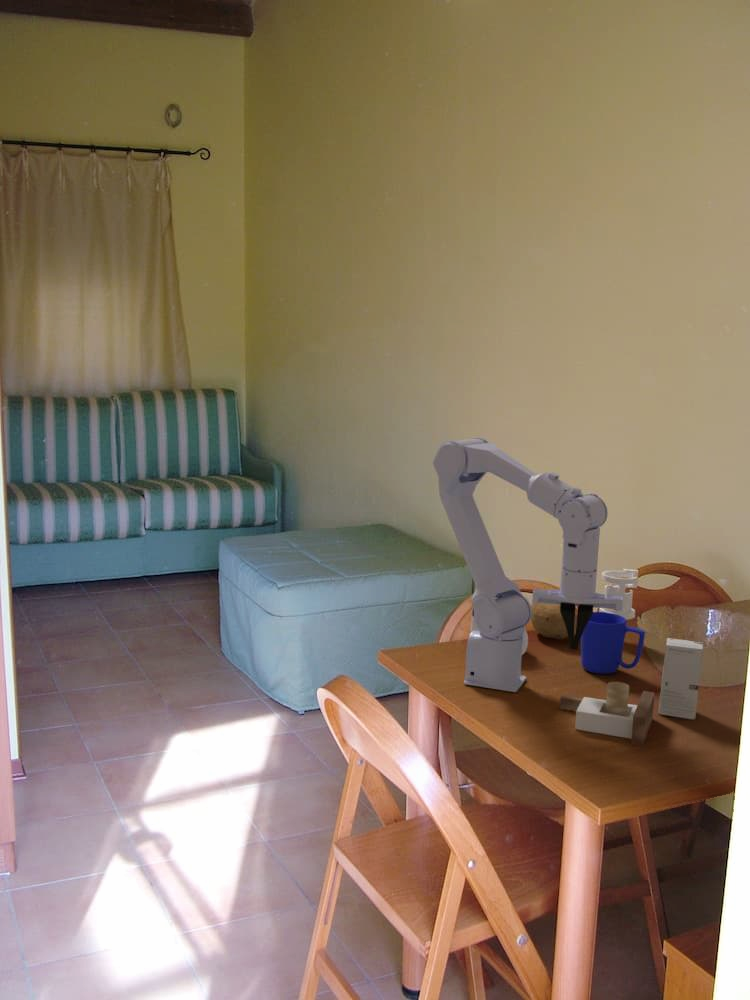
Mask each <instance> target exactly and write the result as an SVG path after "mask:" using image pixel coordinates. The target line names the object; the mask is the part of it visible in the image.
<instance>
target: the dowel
mask: <svg viewBox="0 0 750 1000" xmlns="http://www.w3.org/2000/svg"><path fill="white" fill-rule="evenodd" d="M605 694H606V695H605V697H606V698H605V700H606V707H605V713H608V714H614V715H620V716H626V717H627V708H628V704H629V694H630V685H629V684H628V683H625V682H621V681H609V682H608V683H607V684H606V693H605Z"/></svg>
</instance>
